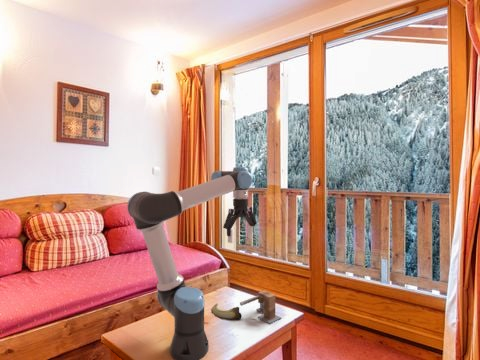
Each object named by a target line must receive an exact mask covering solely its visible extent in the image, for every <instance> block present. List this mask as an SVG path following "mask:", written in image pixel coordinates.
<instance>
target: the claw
mask: <svg viewBox="0 0 480 360" xmlns="http://www.w3.org/2000/svg"><path fill="white" fill-rule="evenodd" d="M211 313H212V314H213V315H214V316H217V317H219V318H222V319H227V320H240V319H242V318H243V317H242V313H241V312H240V307H239V306H236V307H233V308H230V309H228V310H226V309H225V310H221V309H219V308H218V303H215V304H214V305H213V306H212V308H211Z"/></svg>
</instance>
